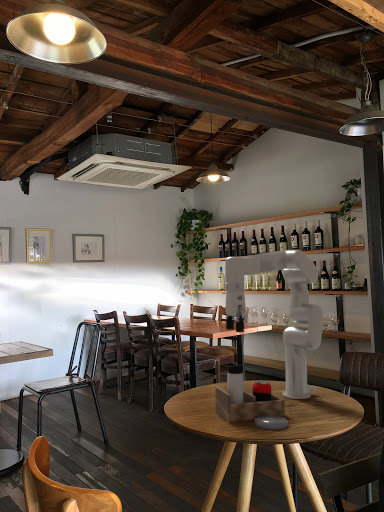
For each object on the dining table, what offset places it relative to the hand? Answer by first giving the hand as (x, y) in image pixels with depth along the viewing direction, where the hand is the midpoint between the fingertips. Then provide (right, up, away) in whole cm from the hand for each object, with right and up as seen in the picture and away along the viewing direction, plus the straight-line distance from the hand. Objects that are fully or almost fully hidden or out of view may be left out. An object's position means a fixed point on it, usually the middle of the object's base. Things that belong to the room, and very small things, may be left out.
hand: (234, 330), depth 172 cm
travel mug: (0, -33, -2) cm, 33 cm away
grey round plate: (+12, -33, -12) cm, 37 cm away
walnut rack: (+6, -33, 0) cm, 34 cm away
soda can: (+11, -34, +2) cm, 35 cm away
